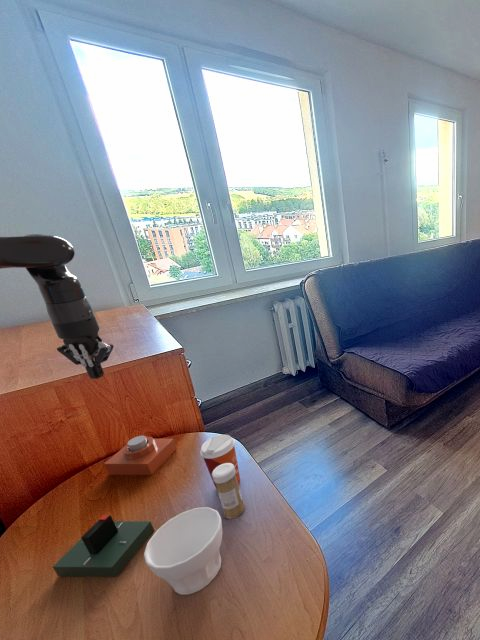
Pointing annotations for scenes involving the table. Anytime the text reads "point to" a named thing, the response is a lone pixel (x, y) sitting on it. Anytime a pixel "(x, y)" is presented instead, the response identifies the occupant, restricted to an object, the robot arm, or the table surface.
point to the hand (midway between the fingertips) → (97, 377)
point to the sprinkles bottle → (228, 490)
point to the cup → (187, 550)
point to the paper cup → (219, 453)
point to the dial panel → (105, 552)
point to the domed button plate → (141, 458)
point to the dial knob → (99, 534)
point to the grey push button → (137, 443)
